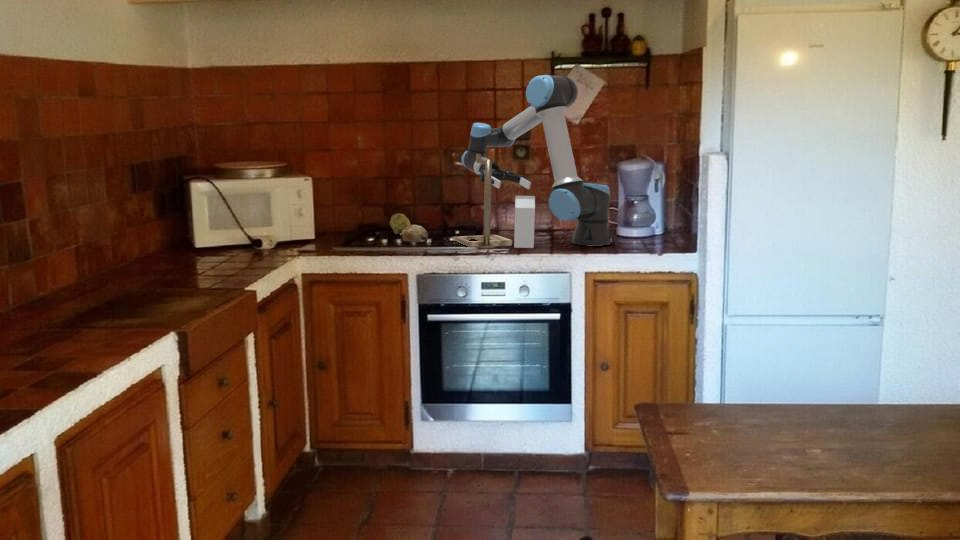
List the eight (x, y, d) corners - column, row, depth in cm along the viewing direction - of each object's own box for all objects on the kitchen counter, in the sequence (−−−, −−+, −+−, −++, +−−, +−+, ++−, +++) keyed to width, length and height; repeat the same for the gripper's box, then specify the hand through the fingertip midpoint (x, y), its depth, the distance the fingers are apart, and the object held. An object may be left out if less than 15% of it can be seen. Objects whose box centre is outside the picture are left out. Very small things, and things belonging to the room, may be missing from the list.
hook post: (482, 243, 349) (484, 153, 343) (494, 247, 339) (496, 155, 333) (470, 243, 347) (471, 153, 341) (481, 248, 337) (483, 155, 331)
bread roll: (412, 252, 348) (420, 234, 345) (393, 238, 352) (400, 220, 348) (427, 249, 356) (435, 231, 353) (408, 235, 360) (415, 217, 357)
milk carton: (533, 248, 339) (535, 197, 336) (514, 248, 339) (515, 196, 336) (533, 245, 346) (534, 195, 343) (514, 245, 346) (515, 194, 343)
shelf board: (496, 239, 358) (496, 234, 357) (511, 245, 345) (512, 240, 345) (453, 241, 351) (453, 236, 350) (467, 247, 338) (467, 242, 338)
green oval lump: (390, 236, 360) (390, 216, 359) (389, 232, 373) (389, 212, 371) (412, 236, 361) (412, 216, 360) (409, 232, 374) (410, 212, 373)
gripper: (511, 179, 371) (540, 195, 354) (457, 177, 358) (484, 194, 341) (515, 161, 368) (543, 176, 351) (461, 158, 355) (488, 174, 338)
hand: (514, 185), depth 346 cm, fingers open, 13 cm apart
